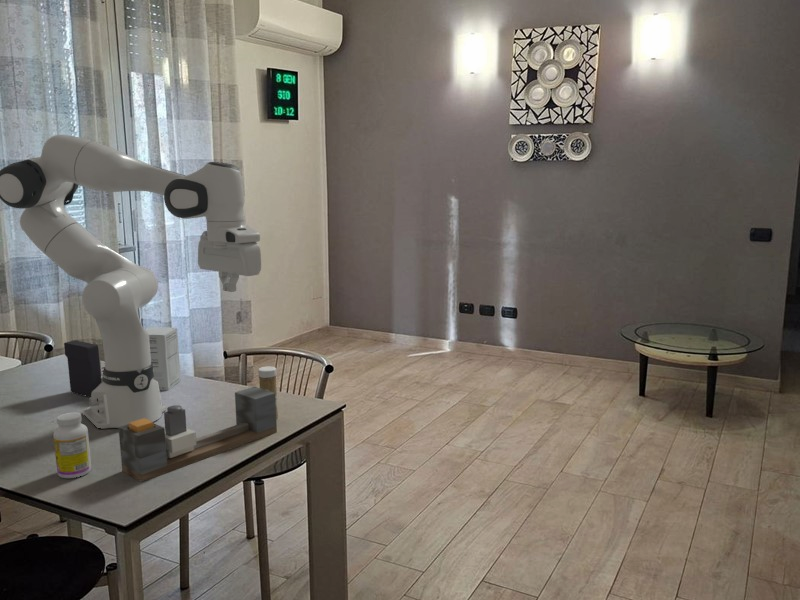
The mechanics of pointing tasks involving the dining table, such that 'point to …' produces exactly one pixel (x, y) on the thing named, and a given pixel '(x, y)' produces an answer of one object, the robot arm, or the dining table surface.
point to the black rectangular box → (83, 366)
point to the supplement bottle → (71, 446)
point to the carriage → (177, 432)
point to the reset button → (141, 425)
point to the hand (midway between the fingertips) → (229, 291)
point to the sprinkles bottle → (268, 381)
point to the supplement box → (164, 356)
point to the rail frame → (148, 447)
